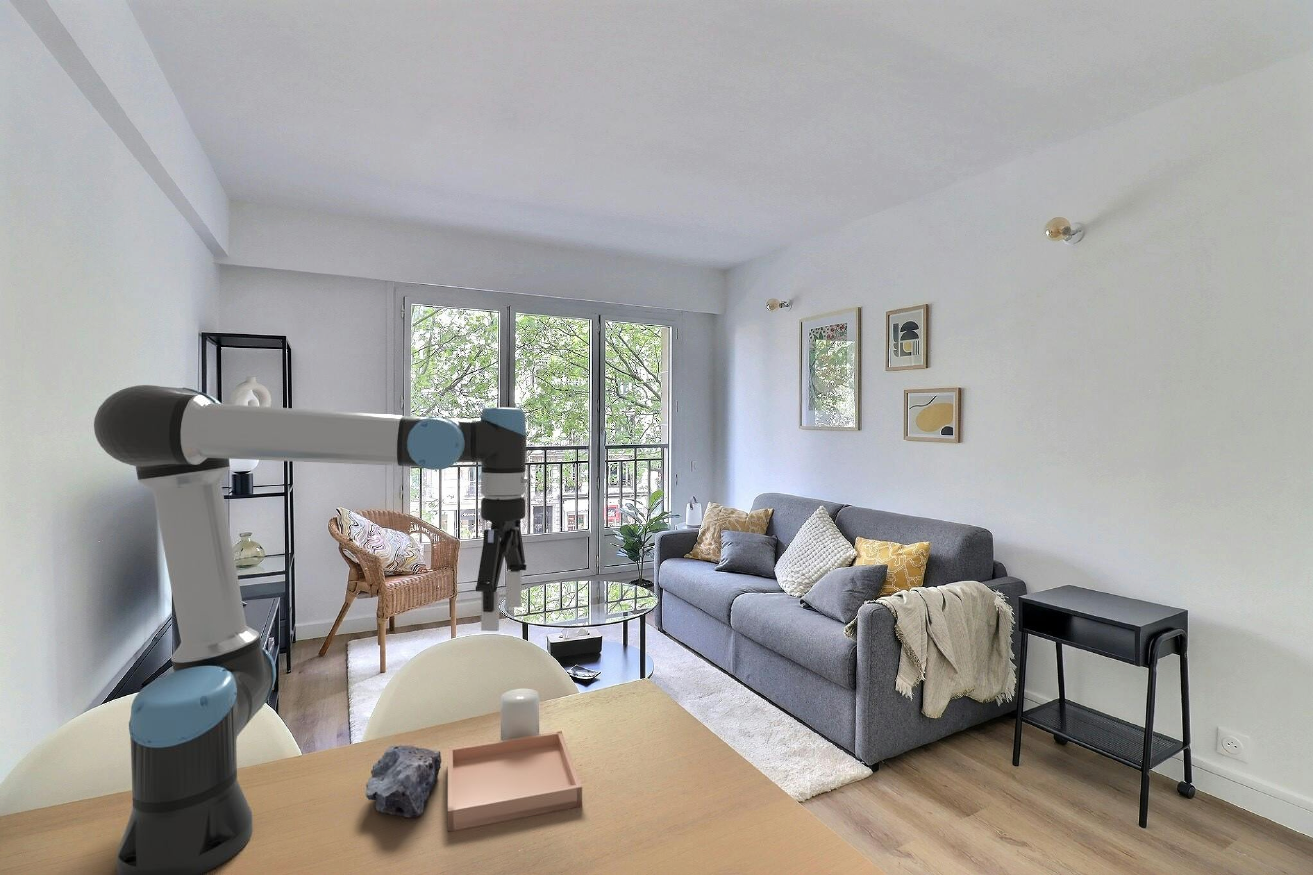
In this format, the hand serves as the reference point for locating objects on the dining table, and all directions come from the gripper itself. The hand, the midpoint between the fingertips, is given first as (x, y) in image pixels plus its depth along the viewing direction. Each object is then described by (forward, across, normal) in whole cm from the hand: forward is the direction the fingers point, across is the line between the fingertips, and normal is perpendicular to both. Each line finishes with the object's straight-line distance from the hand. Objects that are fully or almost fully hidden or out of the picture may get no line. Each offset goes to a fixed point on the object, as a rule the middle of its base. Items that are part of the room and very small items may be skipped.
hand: (502, 617), depth 112 cm
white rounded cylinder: (+25, +7, -1) cm, 26 cm away
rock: (+25, -13, +12) cm, 31 cm away
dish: (+25, -8, -4) cm, 26 cm away
